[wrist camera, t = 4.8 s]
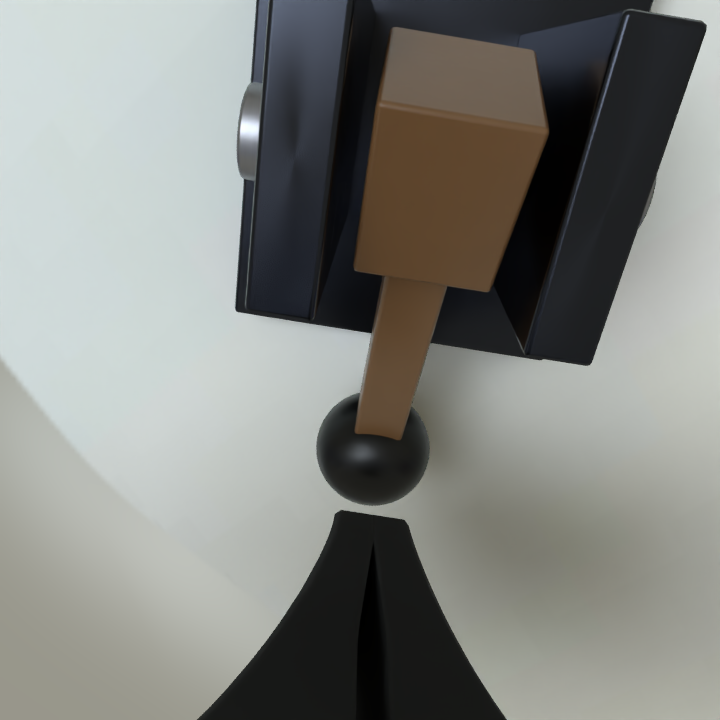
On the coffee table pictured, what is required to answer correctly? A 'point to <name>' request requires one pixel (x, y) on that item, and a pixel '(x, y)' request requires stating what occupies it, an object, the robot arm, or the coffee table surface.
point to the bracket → (544, 197)
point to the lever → (429, 232)
